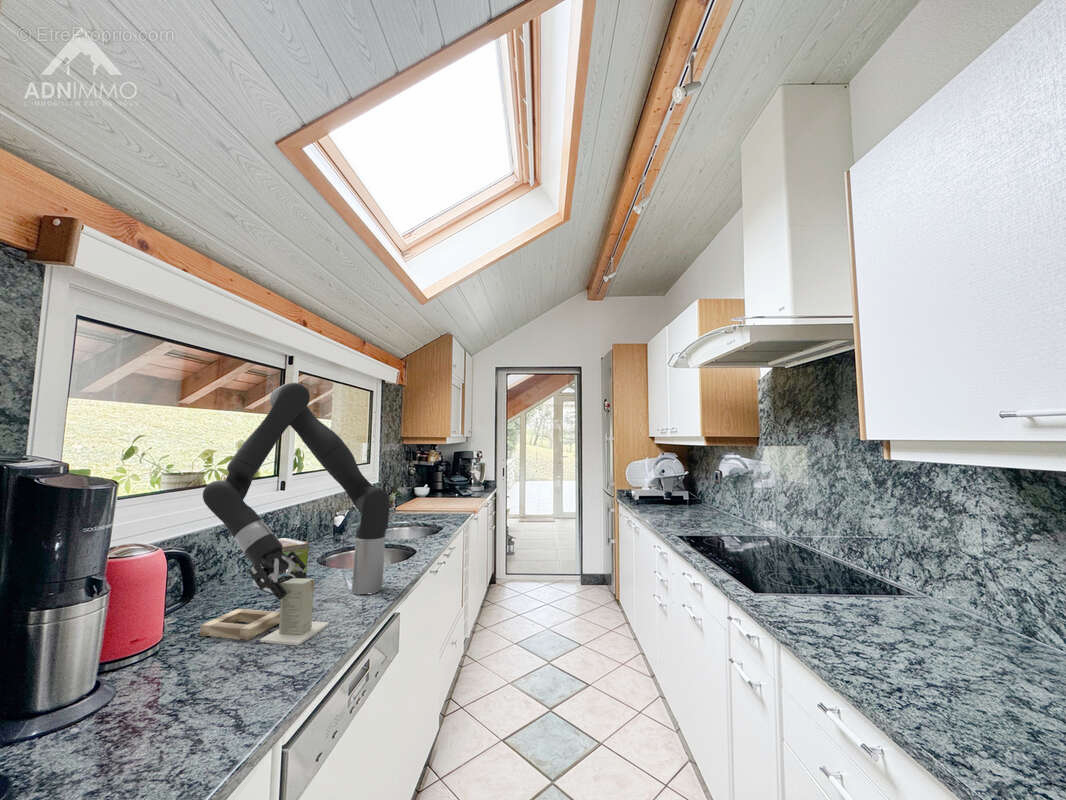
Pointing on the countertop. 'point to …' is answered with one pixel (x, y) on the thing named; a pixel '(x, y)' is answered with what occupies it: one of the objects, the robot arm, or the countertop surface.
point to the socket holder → (229, 629)
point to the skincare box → (296, 606)
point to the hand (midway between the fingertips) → (295, 591)
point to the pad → (294, 635)
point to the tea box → (288, 546)
